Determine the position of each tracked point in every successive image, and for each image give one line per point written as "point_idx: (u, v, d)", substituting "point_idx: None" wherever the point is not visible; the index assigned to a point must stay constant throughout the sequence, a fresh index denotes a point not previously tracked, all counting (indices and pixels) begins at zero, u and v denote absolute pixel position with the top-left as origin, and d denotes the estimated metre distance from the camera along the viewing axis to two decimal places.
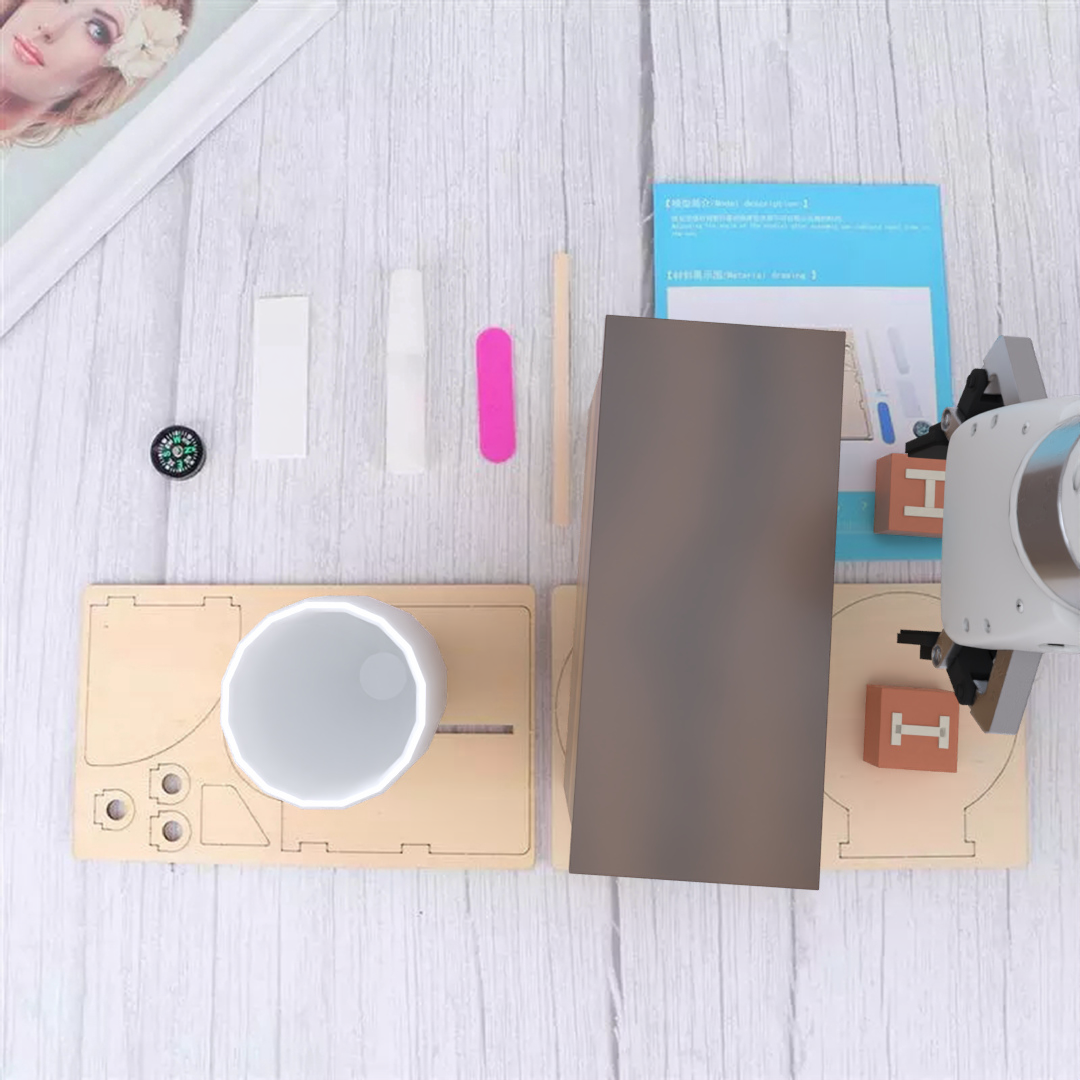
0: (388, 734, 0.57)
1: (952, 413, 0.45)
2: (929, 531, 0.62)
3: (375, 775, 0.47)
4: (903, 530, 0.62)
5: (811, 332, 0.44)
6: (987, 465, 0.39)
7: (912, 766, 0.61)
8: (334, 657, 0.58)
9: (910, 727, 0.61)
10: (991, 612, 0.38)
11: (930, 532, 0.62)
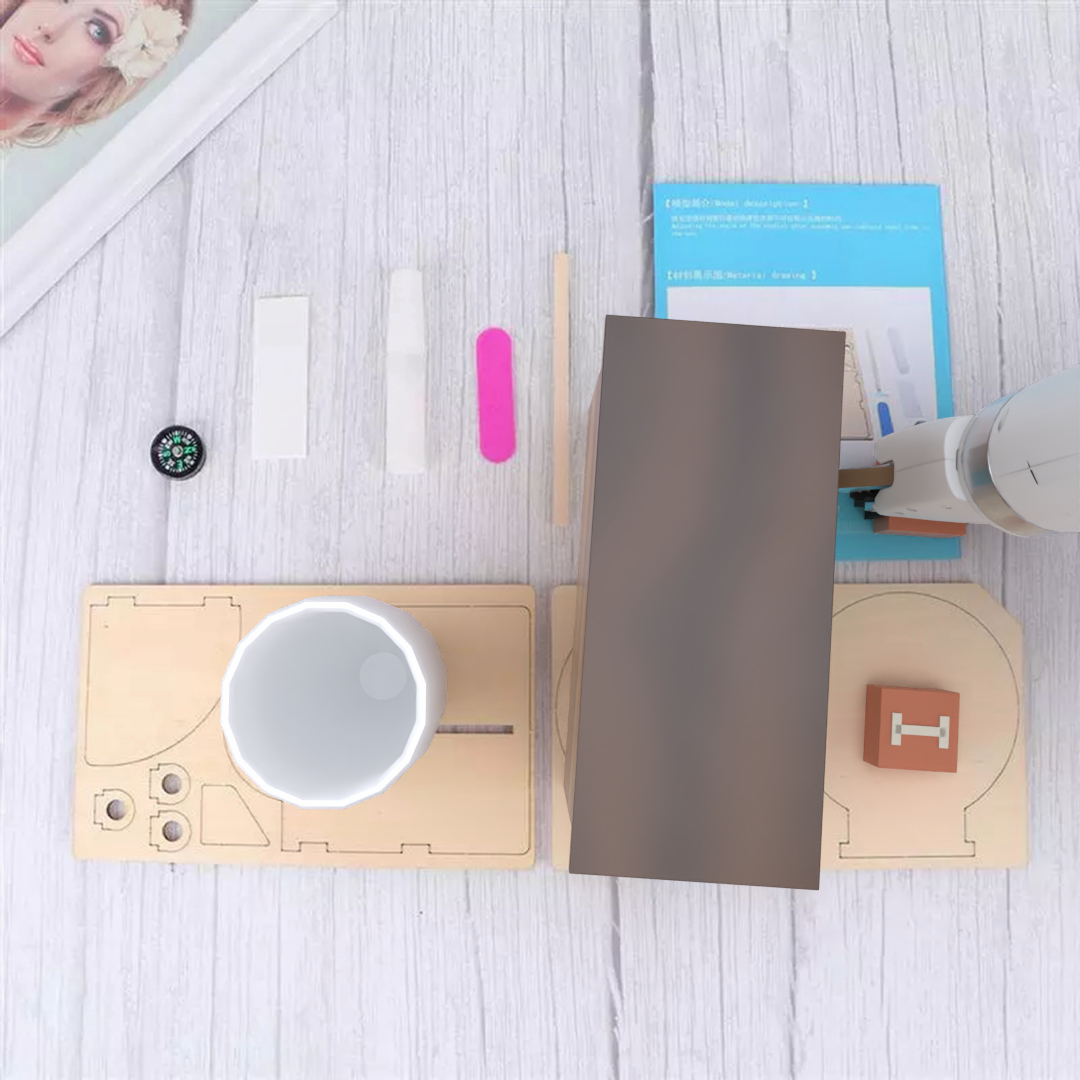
0: (388, 734, 0.57)
1: (871, 509, 0.61)
2: (929, 531, 0.62)
3: (375, 775, 0.47)
4: (903, 530, 0.62)
5: (811, 332, 0.44)
6: (944, 516, 0.54)
7: (912, 766, 0.61)
8: (334, 657, 0.58)
9: (910, 727, 0.61)
10: None
11: (930, 532, 0.62)
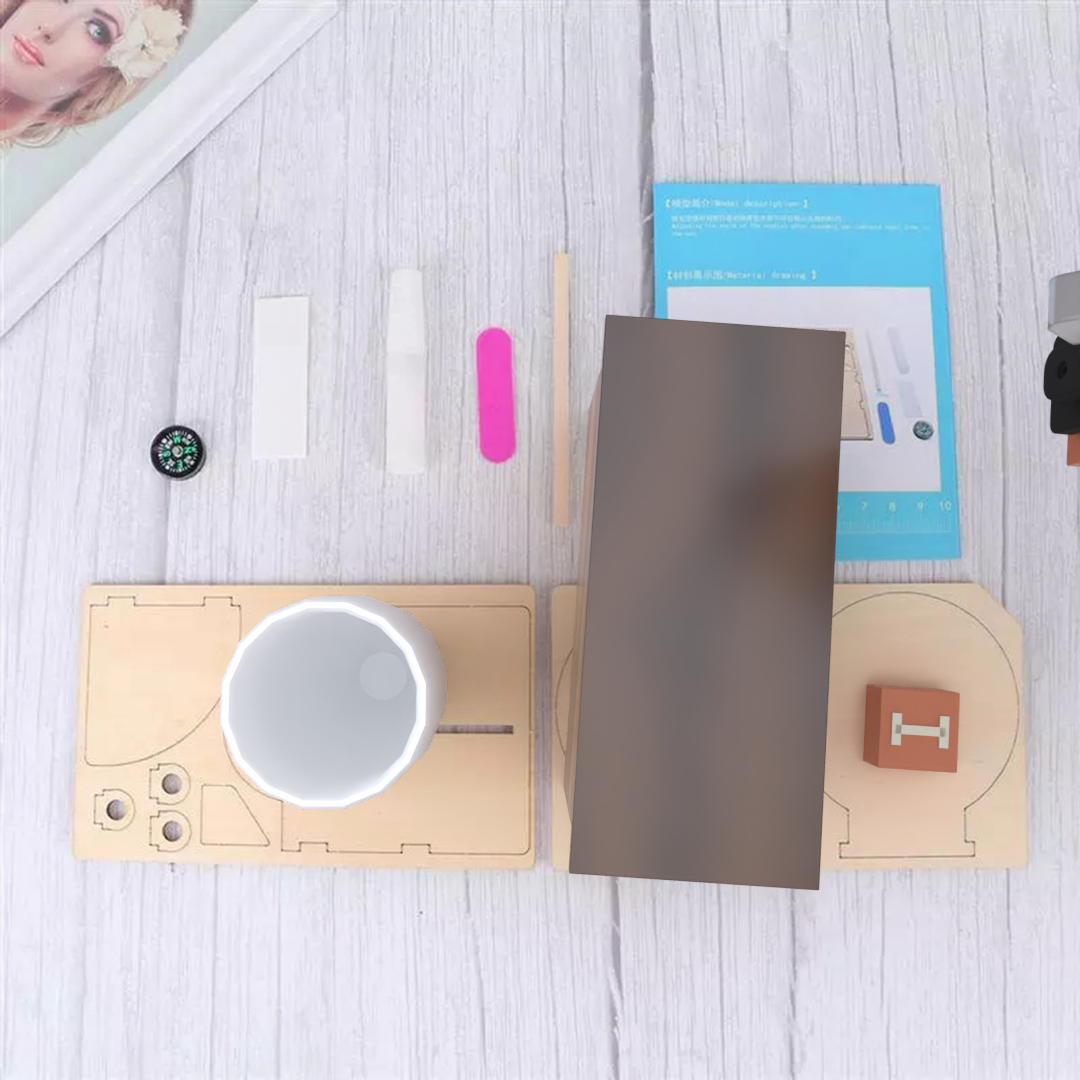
0: (388, 734, 0.57)
1: None
2: None
3: (375, 775, 0.47)
4: None
5: (811, 332, 0.44)
6: None
7: (912, 766, 0.61)
8: (334, 657, 0.58)
9: (910, 727, 0.61)
10: None
11: None
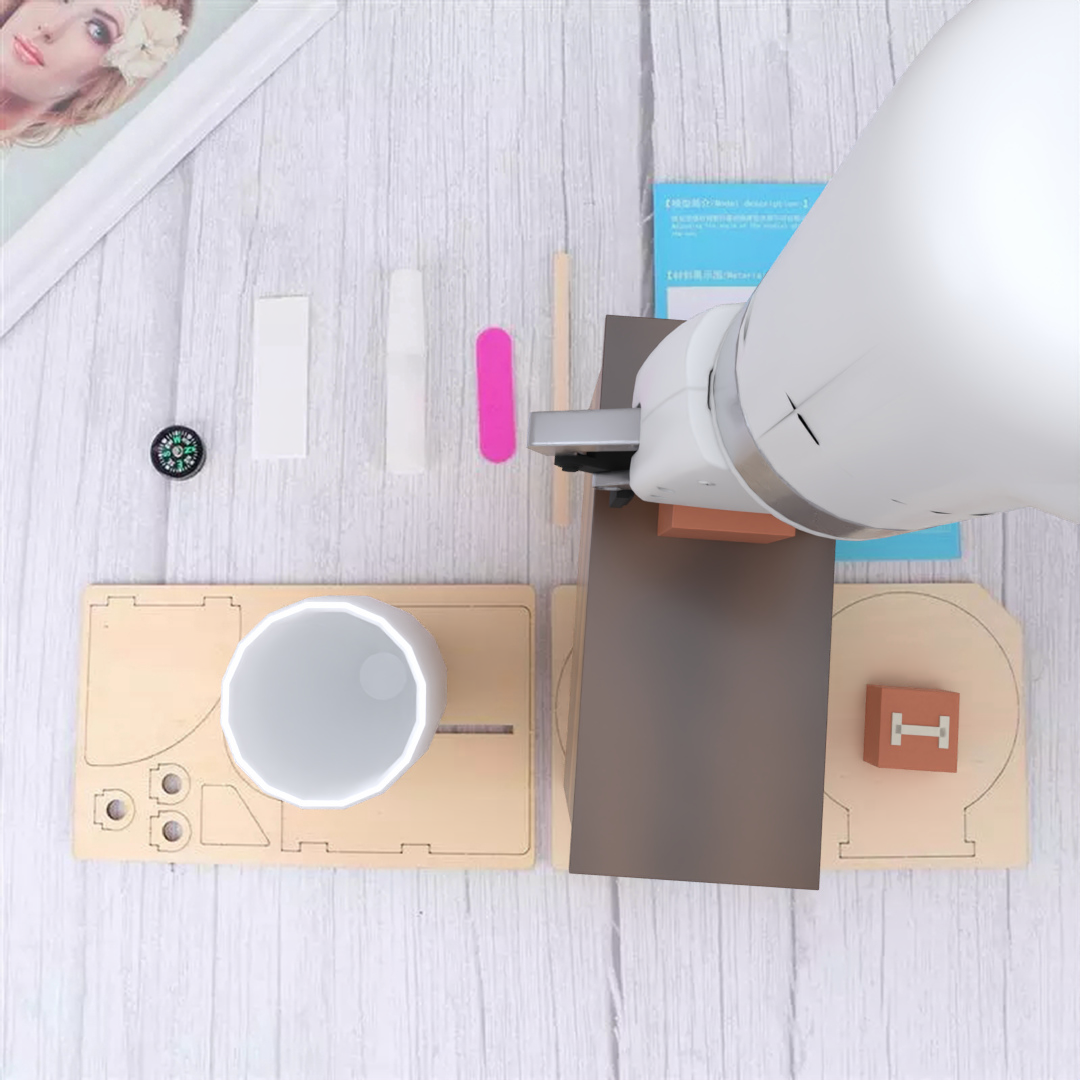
0: (388, 734, 0.57)
1: (605, 485, 0.36)
2: (737, 529, 0.39)
3: (375, 775, 0.47)
4: (696, 528, 0.39)
5: None
6: (725, 501, 0.30)
7: (912, 766, 0.61)
8: (334, 657, 0.58)
9: (910, 727, 0.61)
10: None
11: (739, 531, 0.39)
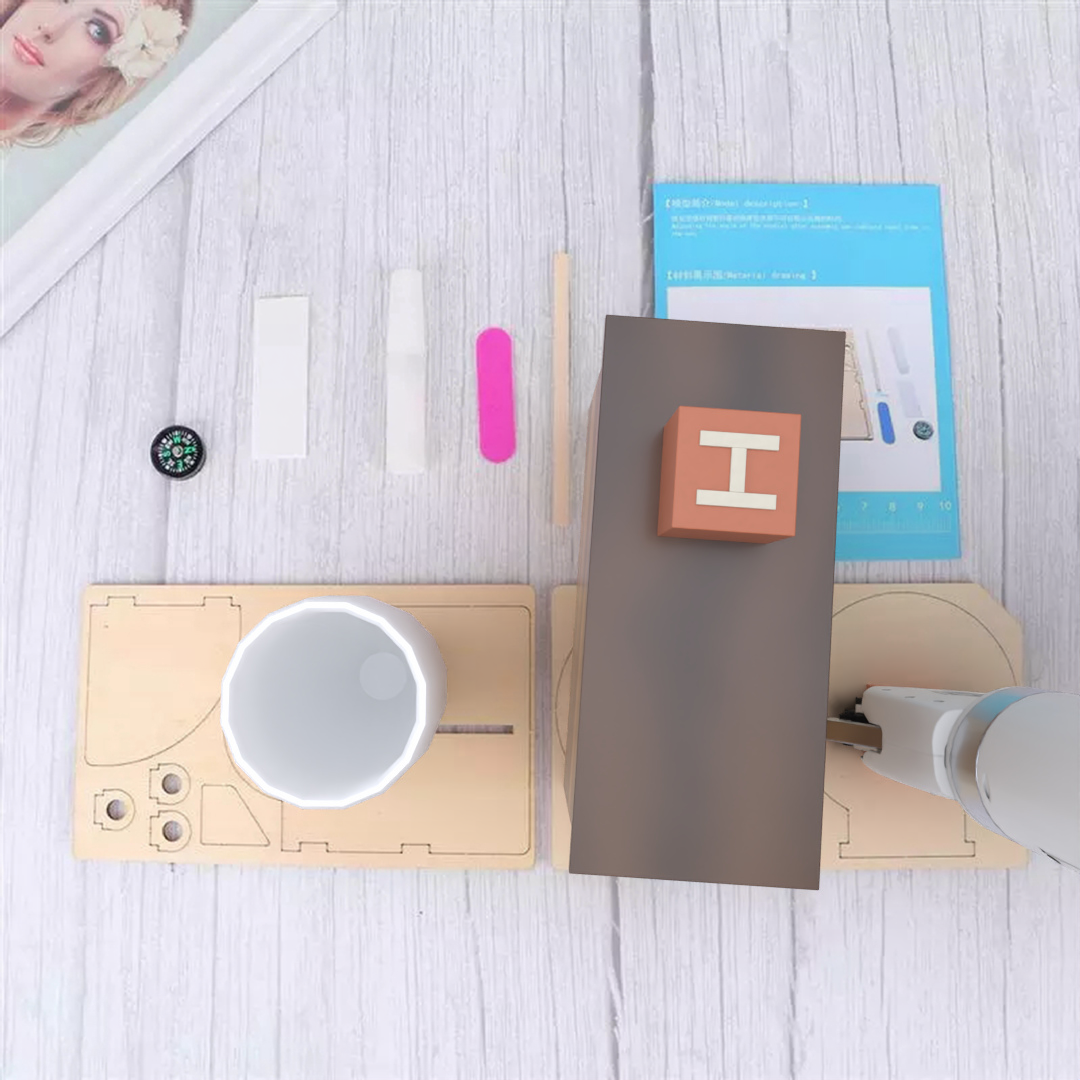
0: (388, 734, 0.57)
1: (860, 749, 0.60)
2: (737, 529, 0.39)
3: (375, 775, 0.47)
4: (696, 528, 0.39)
5: (811, 332, 0.44)
6: None
7: None
8: (334, 657, 0.58)
9: None
10: None
11: (739, 531, 0.39)
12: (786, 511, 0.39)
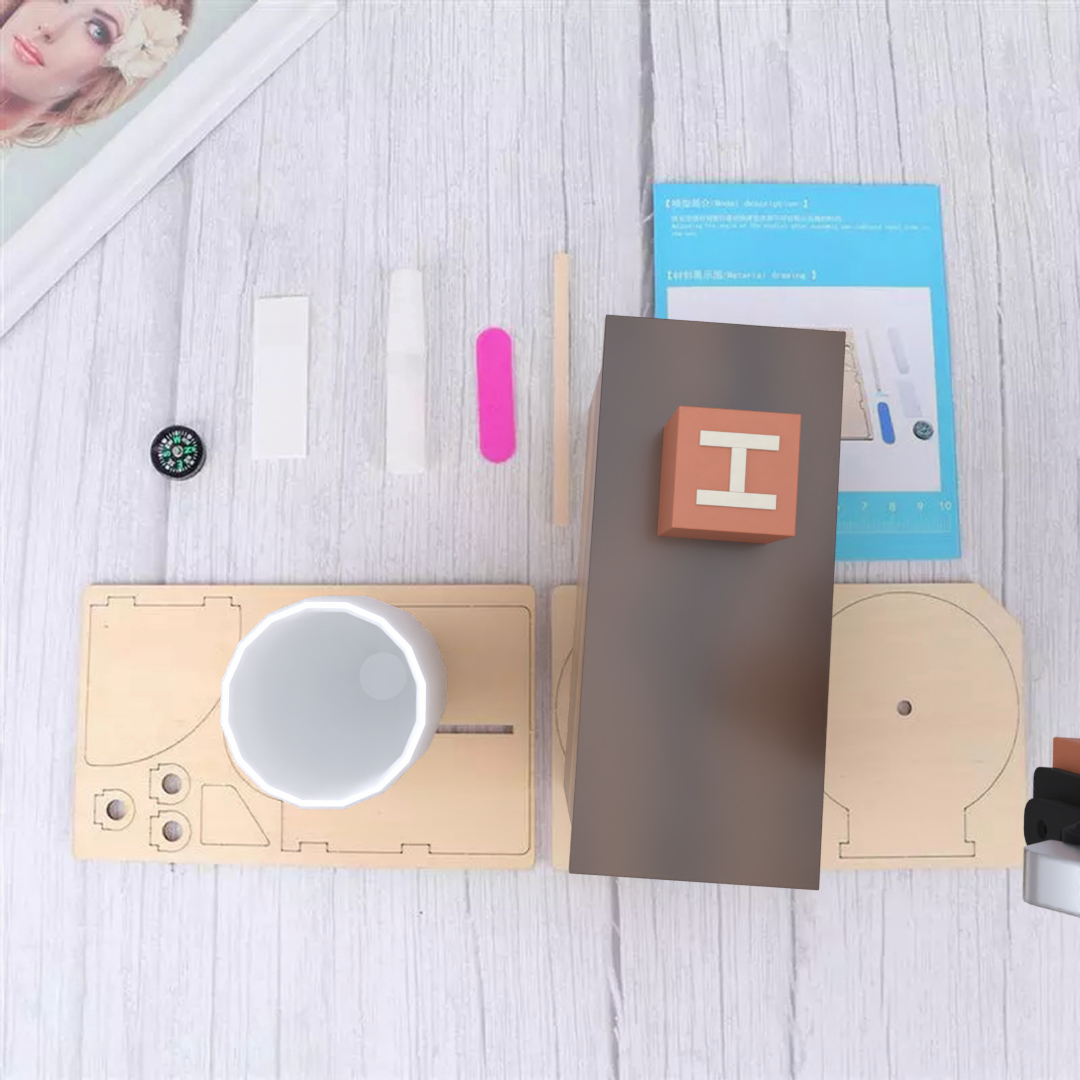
0: (388, 734, 0.57)
1: None
2: (737, 529, 0.39)
3: (375, 775, 0.47)
4: (696, 528, 0.39)
5: (811, 332, 0.44)
6: None
7: None
8: (334, 657, 0.58)
9: None
10: None
11: (739, 531, 0.39)
12: (786, 511, 0.39)
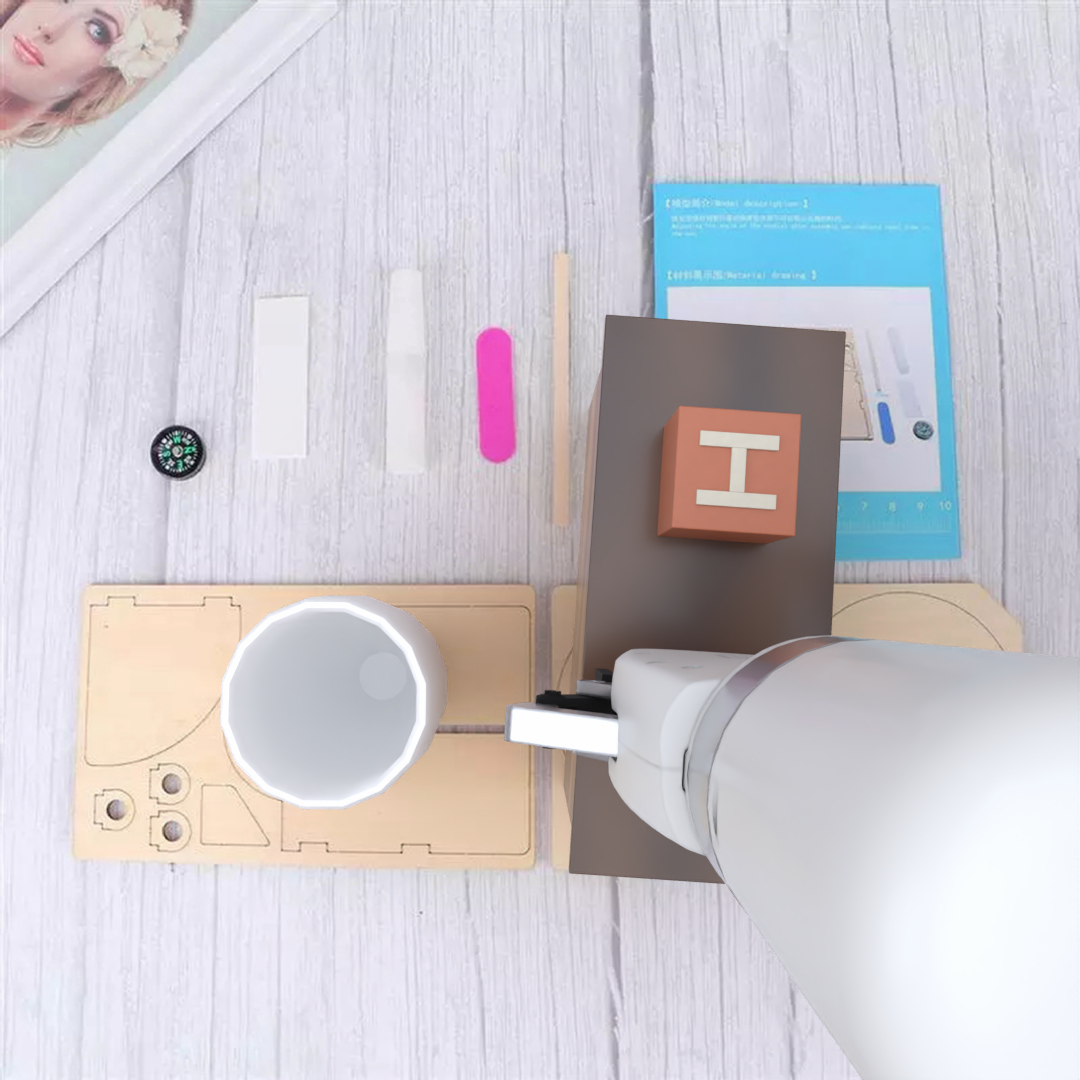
0: (388, 734, 0.57)
1: None
2: (737, 529, 0.39)
3: (375, 775, 0.47)
4: (696, 528, 0.39)
5: (811, 332, 0.44)
6: None
7: None
8: (334, 657, 0.58)
9: None
10: None
11: (739, 531, 0.39)
12: (786, 511, 0.39)
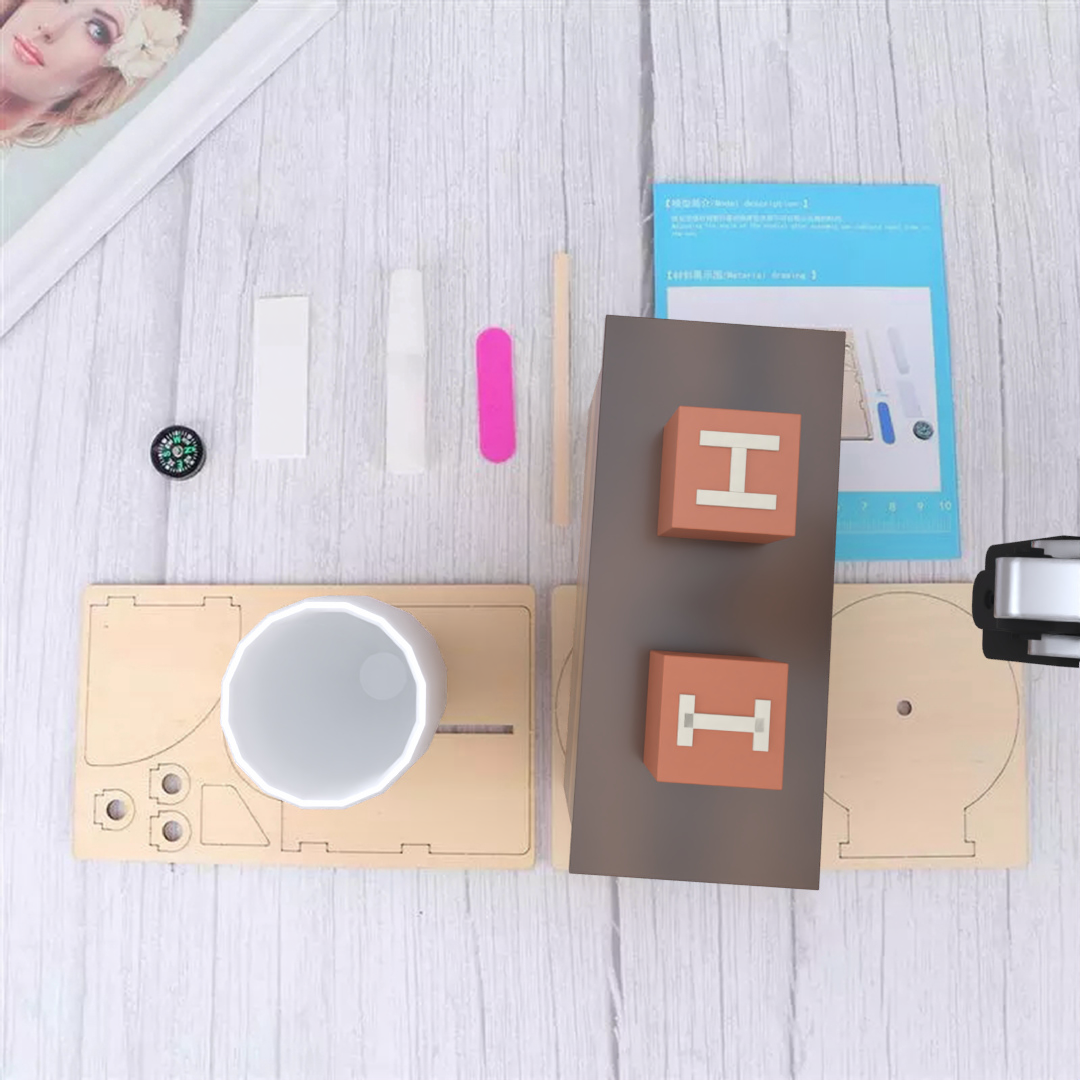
0: (388, 734, 0.57)
1: (1065, 657, 0.22)
2: (737, 529, 0.39)
3: (375, 775, 0.47)
4: (696, 528, 0.39)
5: (811, 332, 0.44)
6: None
7: (711, 779, 0.38)
8: (334, 657, 0.58)
9: (708, 717, 0.38)
10: None
11: (739, 531, 0.39)
12: (786, 511, 0.39)
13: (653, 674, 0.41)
